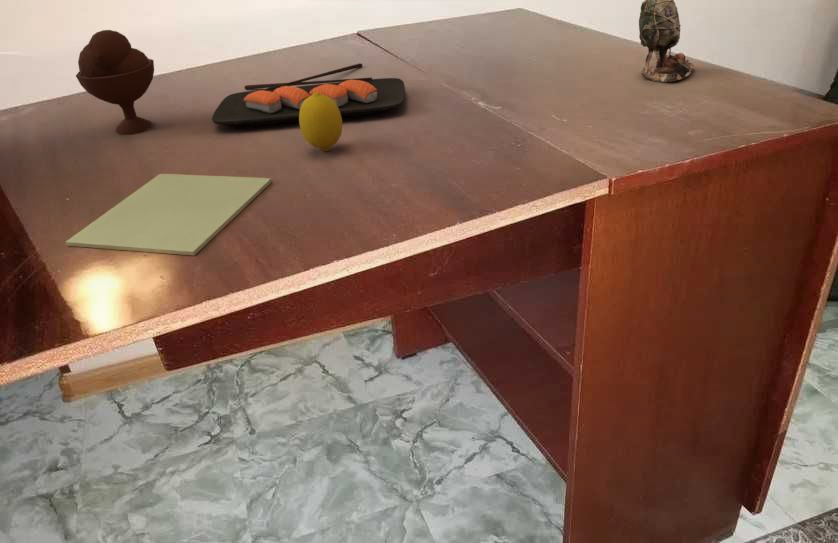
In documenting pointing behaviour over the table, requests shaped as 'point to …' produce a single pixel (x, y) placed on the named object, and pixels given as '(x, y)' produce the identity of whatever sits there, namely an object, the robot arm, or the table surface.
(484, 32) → the table surface
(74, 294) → the table surface
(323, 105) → the lemon
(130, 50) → the ice cream bowl
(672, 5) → the plant with pod
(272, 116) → the sushi plate
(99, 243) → the placemat
